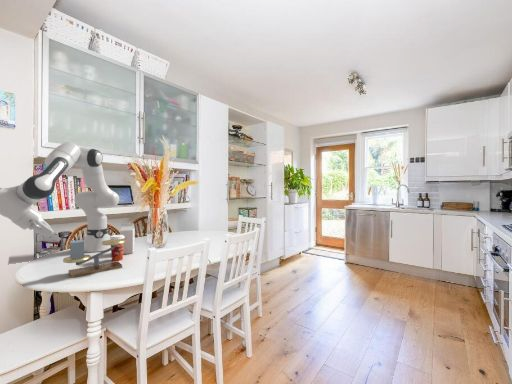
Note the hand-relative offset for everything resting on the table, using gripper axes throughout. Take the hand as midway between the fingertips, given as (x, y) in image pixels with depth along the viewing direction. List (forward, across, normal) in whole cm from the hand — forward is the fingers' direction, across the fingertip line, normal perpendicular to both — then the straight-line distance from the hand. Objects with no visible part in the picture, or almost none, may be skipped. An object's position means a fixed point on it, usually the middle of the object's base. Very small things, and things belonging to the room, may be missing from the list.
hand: (58, 238), depth 116 cm
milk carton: (+40, +25, -13) cm, 49 cm away
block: (+12, 0, +2) cm, 13 cm away
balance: (+24, 0, +2) cm, 24 cm away
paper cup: (+33, +13, -7) cm, 36 cm away
